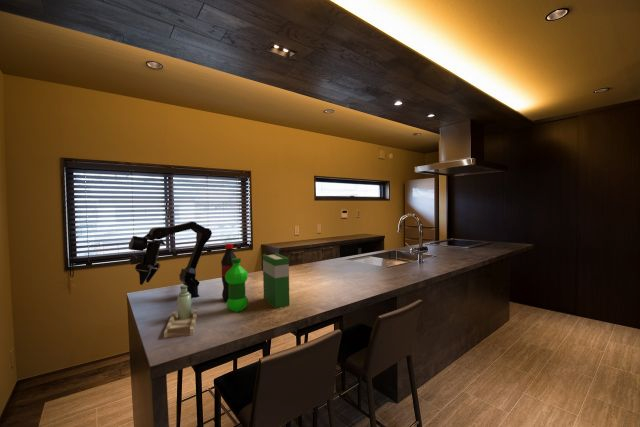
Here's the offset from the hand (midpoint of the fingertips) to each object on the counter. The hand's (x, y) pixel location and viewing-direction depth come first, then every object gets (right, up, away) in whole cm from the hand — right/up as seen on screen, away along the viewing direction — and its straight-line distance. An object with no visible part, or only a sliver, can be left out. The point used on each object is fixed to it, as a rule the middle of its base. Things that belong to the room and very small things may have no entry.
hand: (144, 283), depth 145 cm
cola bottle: (+39, -12, +11) cm, 43 cm away
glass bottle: (+26, -12, -13) cm, 32 cm away
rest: (+29, -13, -20) cm, 38 cm away
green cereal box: (+65, -11, +7) cm, 66 cm away
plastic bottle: (+47, -12, -4) cm, 49 cm away
